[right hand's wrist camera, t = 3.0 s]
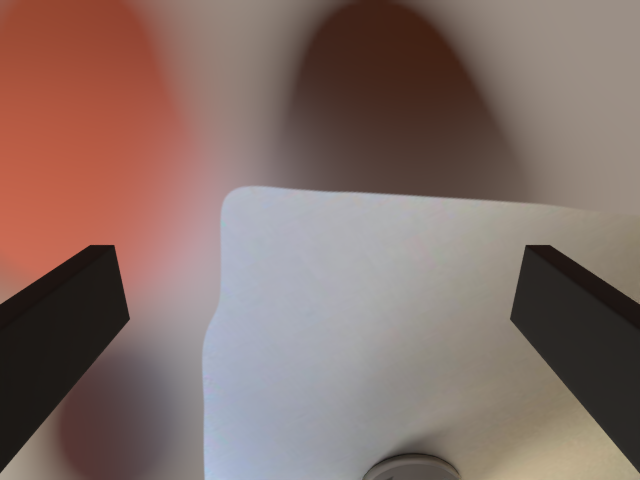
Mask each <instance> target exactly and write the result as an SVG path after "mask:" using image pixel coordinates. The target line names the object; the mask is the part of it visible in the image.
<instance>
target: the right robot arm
mask: <svg viewBox="0 0 640 480" xmlns="http://www.w3.org/2000/svg"><path fill="white" fill-rule="evenodd" d="M129 320H130V317H129V313H128V308H127V303H126V298H125V294H124V289H123V284H122V279H121V275H120V270H119V265H118V261H117V256H116V251H115V246H114V245H90V246H88V247H87V248H85V249H84V250H82V251H81V252H79V253H78V254H76V255H74V256H73V257H71V258H70V259H68V260H67V261H65V262H64V263H62V264H61V265H59V266H58V267H56V268H55V269H53V270H52V271H50V272H49V273H47V274H46V275H44V276H43V277H41V278H40V279H38V280H37V281H35V282H34V283H32V284H31V285H29V286H28V287H26V288H25V289H23V290H21V291H20V292H18V293H17V294H15V295H14V296H12V297H11V298H9V299H8V300H6V301H5V302H3V303H2V304H0V473H1V472H2V471H3V469H4V468H5V467H6V466H7V465H8V463H9V462H10V461H11V460H12V459H13V457H14V456H15V455H16V454H17V453H18V451H19V450H20V449H21V448H22V447H23V445H24V444H25V443H26V442H27V441H28V440H29V438H30V437H31V436H32V435H33V434H34V433H35V431H36V430H37V429H38V428H39V427H40V425H41V424H42V423H43V422H44V421H45V419H46V418H47V417H48V416H49V415H50V414H51V412H52V411H53V410H54V409H55V408H56V406H57V405H58V404H59V403H60V402H61V400H62V399H63V398H64V397H65V396H66V395H67V393H68V392H69V391H70V390H71V389H72V387H73V386H74V385H75V384H76V383H77V381H78V380H79V379H80V378H81V377H82V375H83V374H84V373H85V372H86V371H87V369H88V368H89V367H90V366H91V365H92V363H93V362H94V361H95V360H96V359H97V358H98V356H99V355H100V354H101V353H102V352H103V351H104V349H105V348H106V347H107V346H108V345H109V343H110V342H111V341H112V340H113V339H114V337H115V336H116V335H117V334H118V333H119V332H120V330H121V329H122V328H123V327H124V326H125V324H126V323H127V322H128V321H129ZM510 320H511V321H512V322H513V323H514V324H515V326H516V327H517V328H518V329H519V330H520V332H521V333H522V334H523V335H524V336H525V337H526V339H527V340H528V341H529V342H530V343H531V345H532V346H533V347H534V348H535V349H536V351H537V352H538V353H539V354H540V355H541V356H542V358H543V359H544V360H545V361H546V362H547V364H548V365H549V366H550V367H551V368H552V370H553V371H554V372H555V373H556V374H557V376H558V377H559V378H560V379H561V380H562V381H563V383H564V384H565V385H566V386H567V387H568V389H569V390H570V391H571V392H572V393H573V395H574V396H575V397H576V398H577V399H578V400H579V402H580V403H581V404H582V405H583V406H584V408H585V409H586V410H587V411H588V412H589V414H590V415H591V416H592V417H593V418H594V419H595V421H596V422H597V423H598V424H599V425H600V427H601V428H602V429H603V430H604V431H605V433H606V434H607V435H608V436H609V437H610V438H611V440H612V441H613V442H614V443H615V444H616V446H617V447H618V448H619V449H620V450H621V452H622V453H623V454H624V455H625V456H626V457H627V459H628V460H629V461H630V462H631V463H632V465H633V466H634V467H635V468H636V469H637V471H638V472H639V473H640V304H638V303H637V302H635V301H634V300H632V299H631V298H629V297H628V296H626V295H625V294H623V293H622V292H620V291H619V290H617V289H616V288H614V287H612V286H611V285H609V284H608V283H606V282H605V281H603V280H602V279H600V278H599V277H597V276H596V275H594V274H593V273H591V272H590V271H588V270H587V269H585V268H584V267H582V266H581V265H579V264H578V263H576V262H575V261H573V260H572V259H570V258H569V257H567V256H566V255H564V254H563V253H561V252H559V251H558V250H556V249H555V248H553V247H552V246H550V245H526V246H525V251H524V256H523V261H522V265H521V270H520V275H519V279H518V284H517V289H516V294H515V298H514V303H513V308H512V312H511V317H510ZM362 480H461V478H460V476H459V474H458V473H457V471H456V470H455V469H454V468H453V467H452V466H451V465H450V464H448V463H447V462H445V461H443V460H441V459H439V458H436V457H432V456H428V455H421V454H409V455H401V456H397V457H393V458H390V459H387V460H385V461H383V462H381V463H379V464H377V465H376V466H374V467H373V468H372V469H371V470H370V471H368V473H367V474H366V475H365V476H364V478H363V479H362Z"/></svg>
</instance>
